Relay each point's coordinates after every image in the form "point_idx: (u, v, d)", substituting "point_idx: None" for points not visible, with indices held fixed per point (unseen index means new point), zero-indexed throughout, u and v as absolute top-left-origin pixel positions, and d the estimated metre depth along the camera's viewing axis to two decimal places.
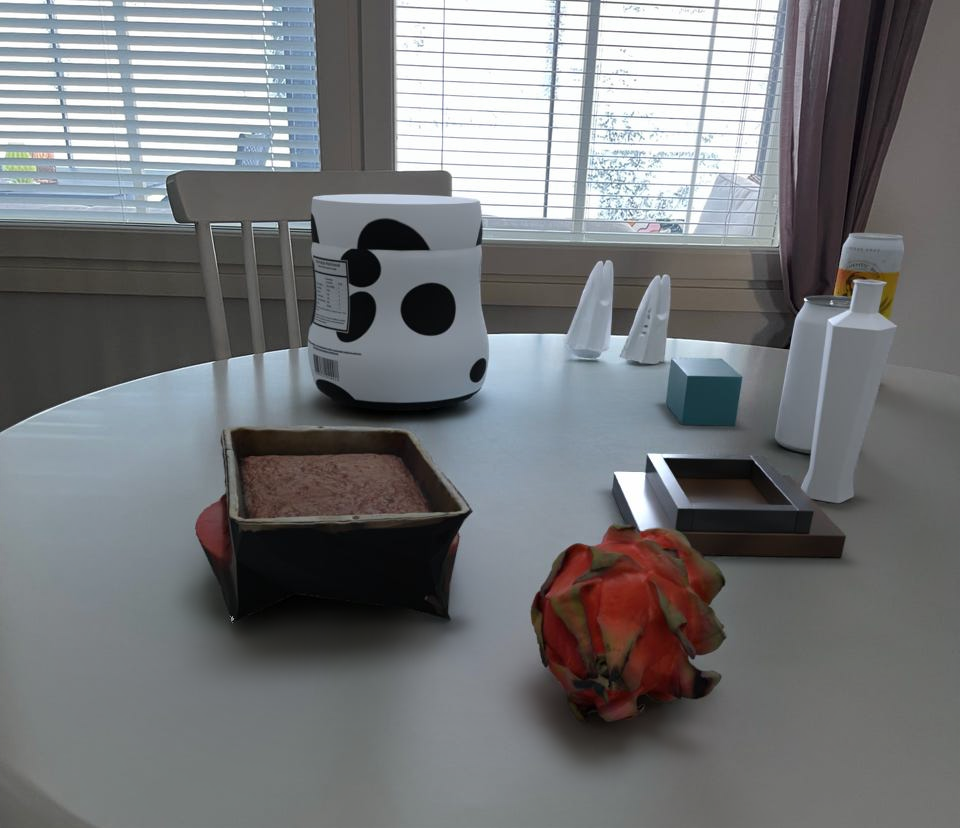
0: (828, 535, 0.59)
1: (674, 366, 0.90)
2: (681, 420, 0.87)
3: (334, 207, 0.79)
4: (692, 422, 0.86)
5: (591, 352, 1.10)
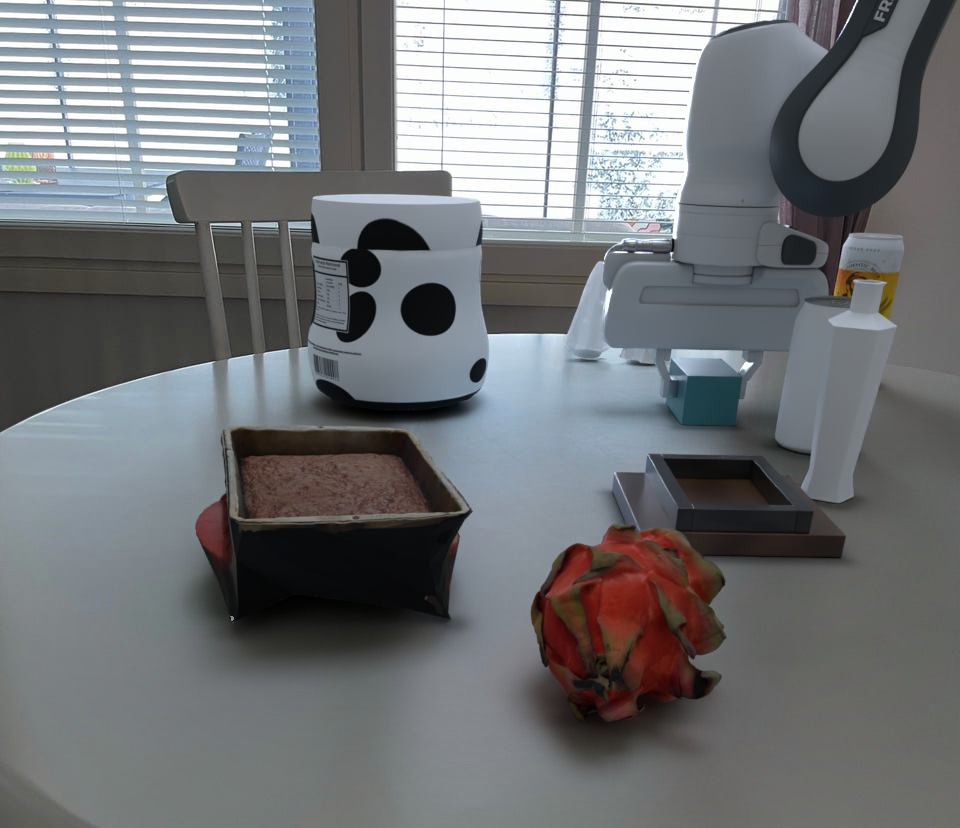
0: (828, 535, 0.59)
1: (674, 366, 0.90)
2: (681, 420, 0.87)
3: (334, 207, 0.79)
4: (692, 422, 0.86)
5: (591, 352, 1.10)
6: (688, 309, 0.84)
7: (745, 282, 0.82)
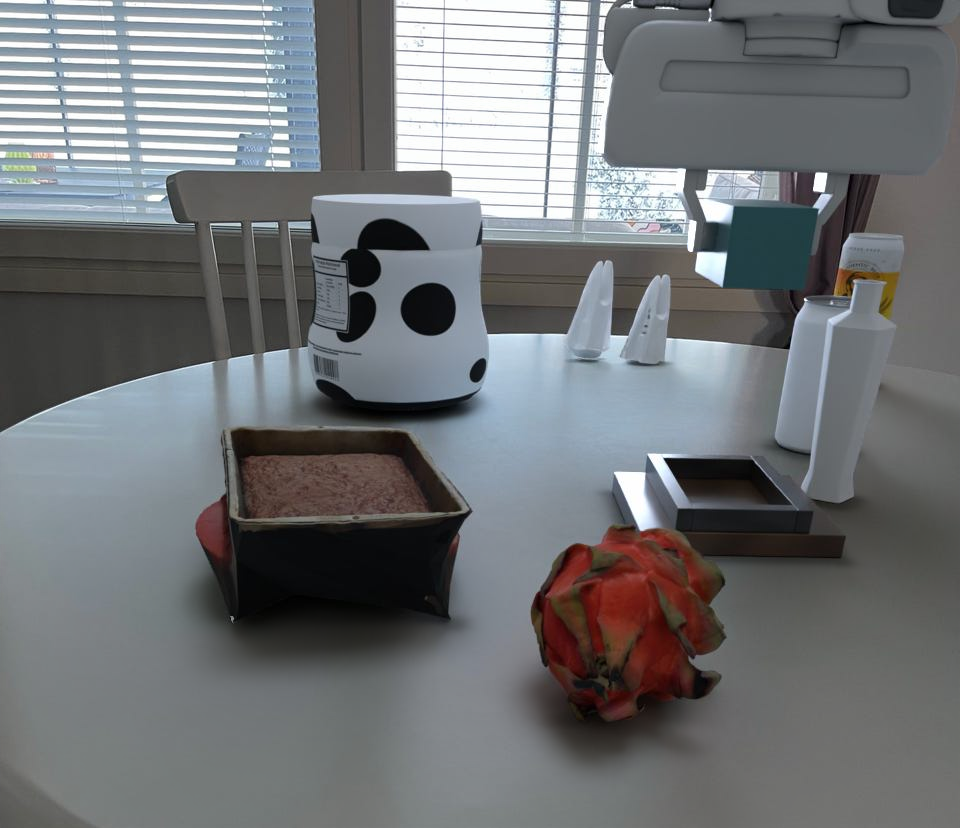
0: (828, 535, 0.59)
1: (709, 207, 0.60)
2: (722, 281, 0.57)
3: (334, 207, 0.79)
4: (739, 284, 0.56)
5: (591, 352, 1.10)
6: (735, 100, 0.54)
7: (827, 51, 0.52)
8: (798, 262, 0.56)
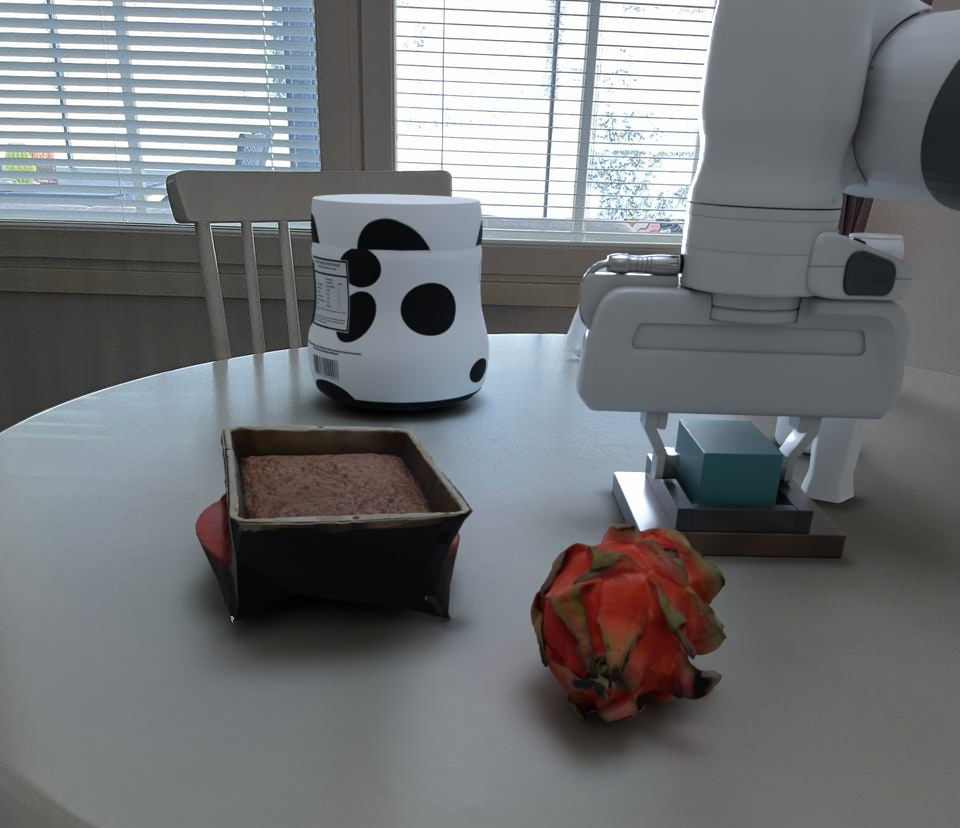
0: (828, 535, 0.59)
1: (684, 433, 0.63)
2: None
3: (334, 207, 0.79)
4: None
5: None
6: (703, 357, 0.57)
7: (788, 319, 0.56)
8: (765, 499, 0.59)
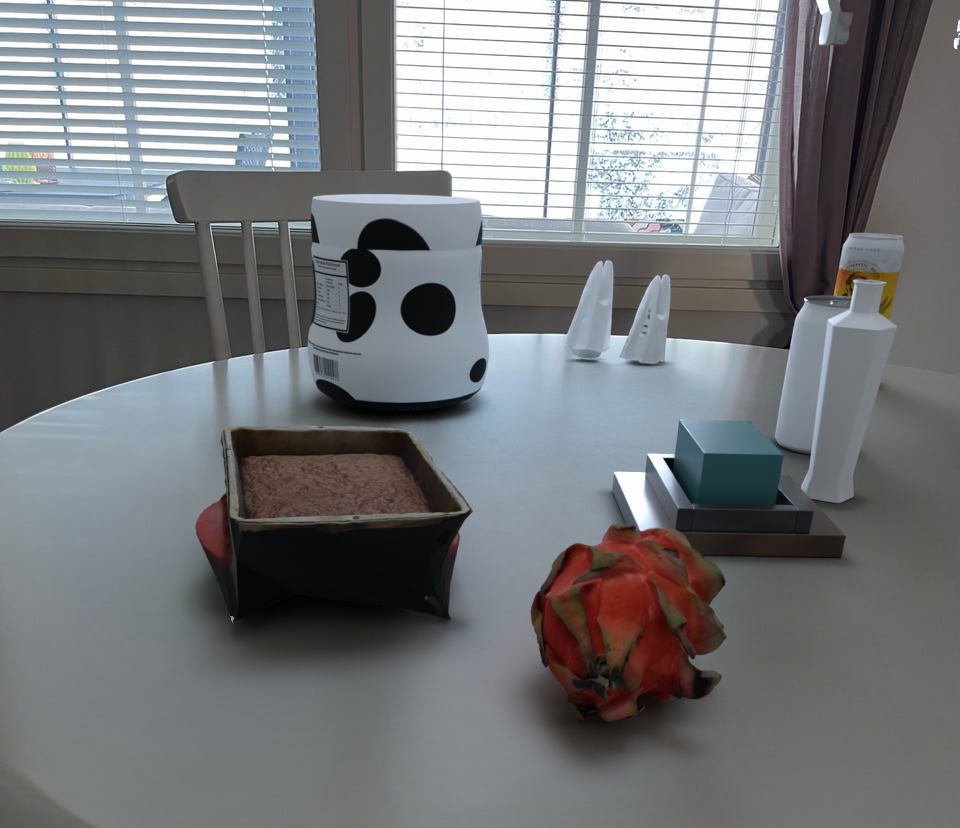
0: (828, 535, 0.59)
1: (684, 433, 0.63)
2: None
3: (334, 207, 0.79)
4: None
5: (591, 352, 1.10)
6: None
7: None
8: (765, 499, 0.59)
